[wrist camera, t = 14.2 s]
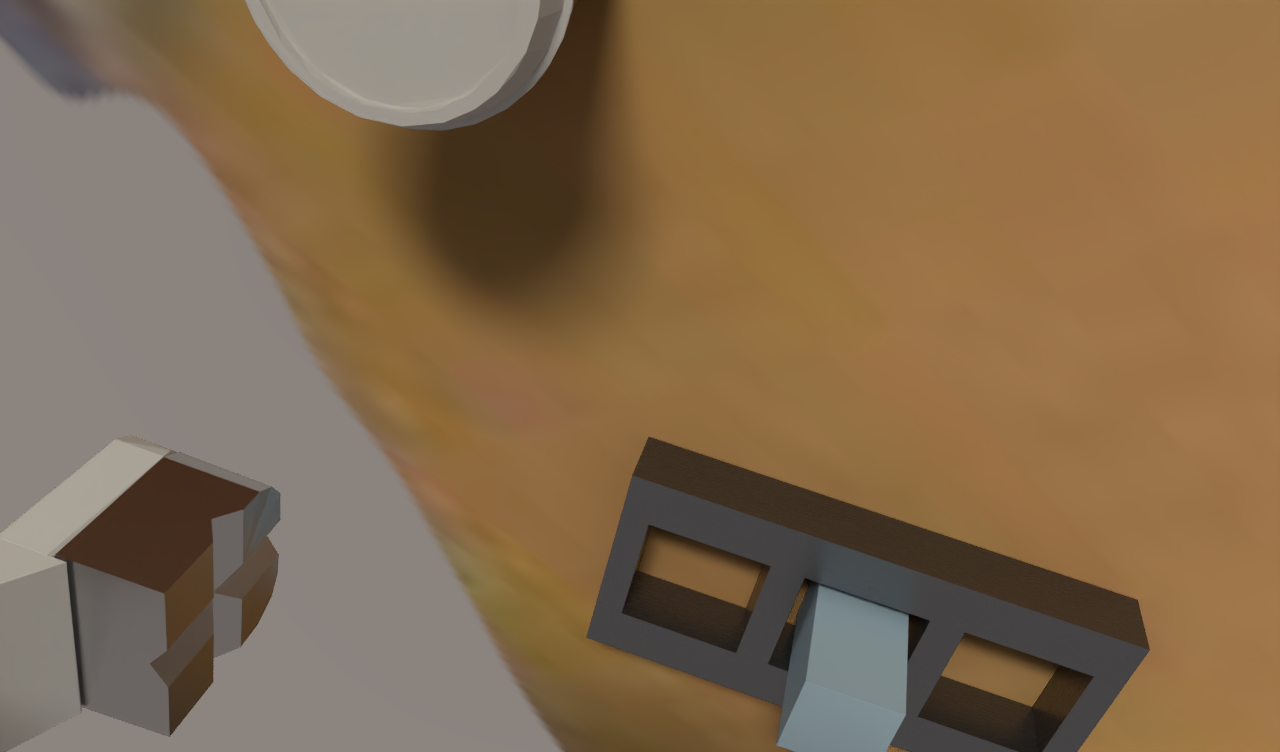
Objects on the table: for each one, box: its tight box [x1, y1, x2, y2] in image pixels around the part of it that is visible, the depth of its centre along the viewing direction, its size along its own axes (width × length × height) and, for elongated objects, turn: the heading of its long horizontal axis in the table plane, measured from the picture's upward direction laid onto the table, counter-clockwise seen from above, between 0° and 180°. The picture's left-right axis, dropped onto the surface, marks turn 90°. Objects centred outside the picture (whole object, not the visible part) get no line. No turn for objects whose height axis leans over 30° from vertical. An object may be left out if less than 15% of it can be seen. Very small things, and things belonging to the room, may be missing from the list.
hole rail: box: [586, 437, 1150, 752], centre depth 47 cm, size 22×10×3 cm, turn 77°
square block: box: [776, 580, 909, 752], centre depth 45 cm, size 4×4×8 cm
